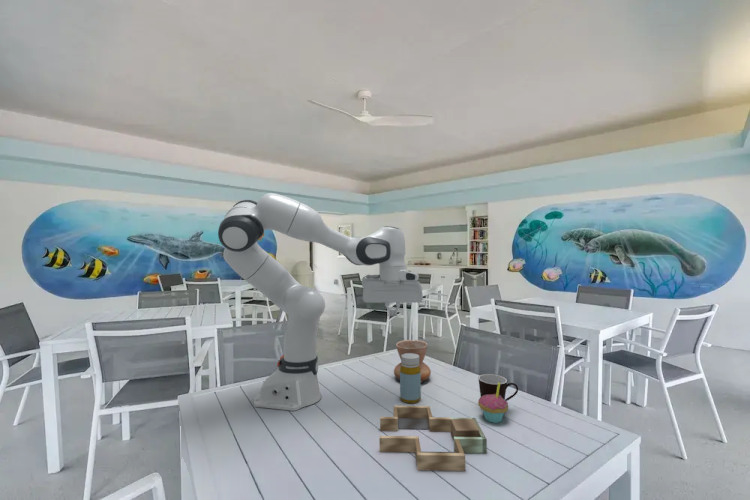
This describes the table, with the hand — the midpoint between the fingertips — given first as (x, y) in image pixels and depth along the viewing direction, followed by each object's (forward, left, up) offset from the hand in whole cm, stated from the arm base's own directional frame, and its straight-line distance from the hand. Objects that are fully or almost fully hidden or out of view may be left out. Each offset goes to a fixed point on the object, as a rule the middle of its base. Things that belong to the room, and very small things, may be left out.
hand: (392, 315), depth 115 cm
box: (+9, -23, -29) cm, 38 cm away
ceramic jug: (+8, +20, -29) cm, 36 cm away
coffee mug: (+33, -6, -29) cm, 45 cm away
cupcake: (+30, -11, -29) cm, 43 cm away
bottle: (+6, +2, -29) cm, 30 cm away
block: (+19, -23, -29) cm, 42 cm away
